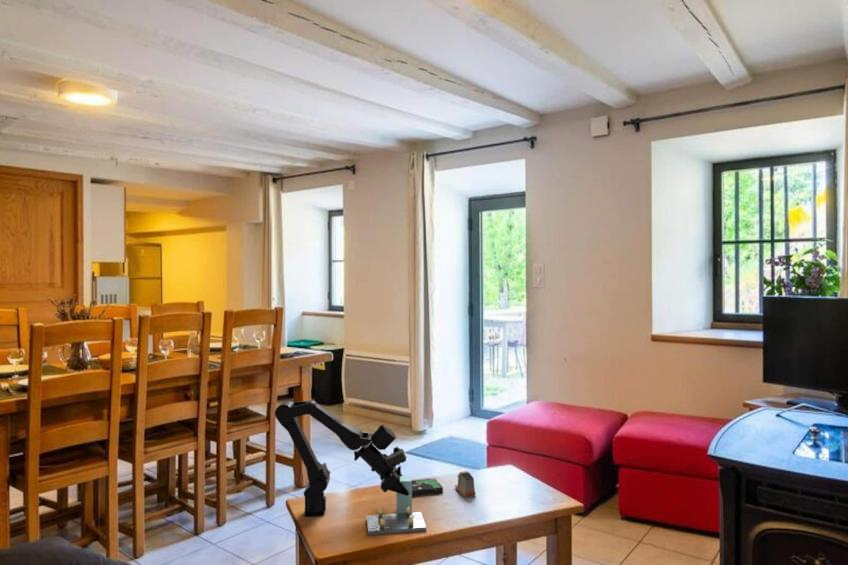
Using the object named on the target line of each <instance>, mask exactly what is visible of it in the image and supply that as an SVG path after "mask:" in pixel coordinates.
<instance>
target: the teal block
mask: <svg viewBox="0 0 848 565" xmlns="http://www.w3.org/2000/svg"><path fill="white" fill-rule="evenodd" d="M400 481H401V483H402V484H403V485H404V487H405V488H406V489H407V491H408V492H409V495H408V496H406V495H403V494H400V493H397V492H396V514H398V513H406V506H410V513H413V497H412V481H413V478H412V476H411V475H402V476H400Z"/></svg>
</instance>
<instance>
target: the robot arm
mask: <svg viewBox="0 0 848 565" xmlns="http://www.w3.org/2000/svg"><path fill="white" fill-rule="evenodd" d="M305 415H309V416H310V417H312V418H313V419H314V420H316V421H317V422H319V423H320V424H322V425H323V426H324V427H325V428H327V429H328V430H330V431H331V432H333V433H334V434H335V435H336V436H337V437H338V438H339V440H340V441H341V443H343V445H344V446H345V447H346V448H348V449H349V450H351V451H354V452H353V454H354V455H353V456H354V459H353V460H354V461H355V462H356V461H357V460H359V458H361V460H363V461H364V462H365V463H366V464H367V465H368V466H369V467H370V468H371V469H370V471H371V472H373V473H374V472H375V473H376V474H377V475H379V479H380V480H381V482H380V489H381V491H382V492H384V493H387V492H388V491H390V492H394V493H396V494H397V493H400V494H403V495H406V496H408V495H409V492H408V491H407V489H406V488H405V487H404V485H403V484H402V483H401V481H400V476H403V474H402V467H401V466H402V465H401V464H403V463H405V462H406V461H407V455H406V453H405V450H404V449H403V448H400V447H399V446H396V447H393V450H392V452H391V454H389V455H388V454H386V453H382V452H381V451H385V450H386V449H387V448H389V446H391V444H392V443H393V442H394V441H395V440H396V439H397V435H396V434H395V432H393V430H392V429H391V428H388V427H387V426H385V425H384V424H383V423H381V424H380V425H379V426H378V428H377V429H376V430H375V431H374V432H363V431H362V430H360V429H359V428H357V427H355V426H353V425H350V424H346V423H344V422H343V421H341V419H339V418H337V417H336V416H334V414H332V413H331V412H329V411H328V410H327V409H325V408H323V407H322V406H321V405H319V404H318V403H317V402H316V401H315V400H314V399H313V400H312V399H311V400H307V401H306V400H305V401H301V400H300V401H294V402H293V401H291V400H285V401H283V402H281V403H280V404H279V405H278V406H277V407H276V408H275V411H274V416H275V419H276V420H277V421H278V422H279V424H280V425H281V426H282V427H283V429H285V430H286V431H287V432H288V435H289V436H290V438H291V441H292V442H293V445H294V447H295V448H296V450H297V453H298V455H299V457H300V459H301V460H302V462H303V465H304V466H305V469H306V474H307V480H308V483H307V485H306V487H305V490H304V491H303V496H304V513H303V516H304V517H314V516H316V517H317V516H324V515H325V512H326V510H327V498H326V496H325V491H326V490H327V487H328V486H329V484H330V480H331V476H330V474H331V471H330V470H329V468H328V466H327V464H326V462H324V463H321V462H320V461H319V460H318V459H317V457H316V455H315V453H314V450H313V449H312V447H311V445H310V443H309V440H308V438H307V437H306V435H305V432H304V430H303V428H302V427H301V426H302V425H301V424H300V419H299V418H300V417H302V416H305ZM397 466H398V467H397Z"/></svg>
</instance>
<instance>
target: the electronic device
mask: <svg viewBox="0 0 848 565" xmlns="http://www.w3.org/2000/svg"><path fill="white" fill-rule="evenodd" d="M457 478H458V479H457V484H455V485H454V488H455V490H457V491H458V493H459V494H460V495H462V496H463V497H464V498H471V497H475V496H476V491H475V479H474V477H473V476H472V474H471V473H470V472H469V471H467V470H464V471H460V472H459V473H458V474H457Z"/></svg>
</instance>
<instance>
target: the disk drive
mask: <svg viewBox="0 0 848 565" xmlns="http://www.w3.org/2000/svg"><path fill="white" fill-rule="evenodd" d="M439 493H441V494H443V493H444V487H443V486H442V484H441V483H440V482H439V481H438V480H437V479H436V478H425V479H416V480H412V498H413V497H420V496H421V495H422V496H430V495H429V494H431V495H440V494H439ZM422 496H421V497H422Z"/></svg>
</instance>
